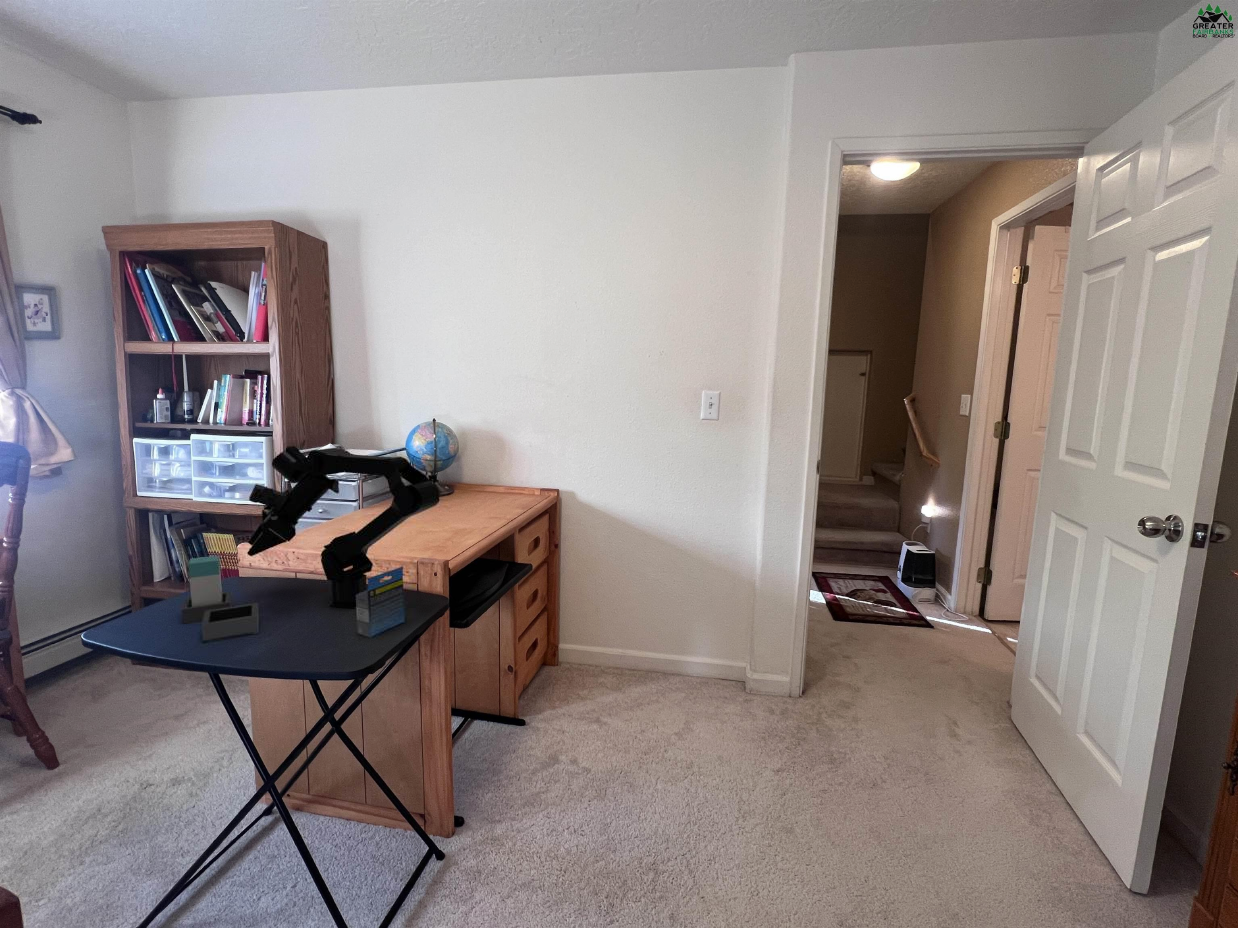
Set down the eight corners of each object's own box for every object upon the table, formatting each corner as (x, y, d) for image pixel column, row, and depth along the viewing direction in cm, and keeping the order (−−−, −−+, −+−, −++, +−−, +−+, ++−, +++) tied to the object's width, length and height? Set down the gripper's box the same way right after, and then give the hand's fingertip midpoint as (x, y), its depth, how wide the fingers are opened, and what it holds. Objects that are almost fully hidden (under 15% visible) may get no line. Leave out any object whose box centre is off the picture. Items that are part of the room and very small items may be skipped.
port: (258, 618, 121) (257, 602, 121) (258, 633, 115) (257, 616, 114) (206, 627, 117) (204, 610, 116) (203, 642, 110) (201, 625, 109)
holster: (231, 604, 128) (231, 591, 128) (230, 616, 122) (229, 602, 122) (186, 611, 124) (185, 598, 123) (182, 623, 118) (181, 609, 117)
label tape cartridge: (392, 618, 123) (390, 562, 122) (405, 622, 122) (404, 565, 120) (356, 633, 115) (354, 574, 114) (370, 638, 114) (367, 578, 112)
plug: (223, 608, 126) (219, 555, 124) (222, 614, 123) (218, 560, 121) (194, 612, 123) (190, 558, 122) (193, 619, 120) (188, 563, 118)
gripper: (272, 465, 134) (218, 517, 129) (273, 478, 118) (212, 537, 114) (312, 496, 139) (261, 546, 135) (319, 512, 123) (261, 569, 119)
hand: (249, 549), depth 125 cm, fingers open, 9 cm apart
